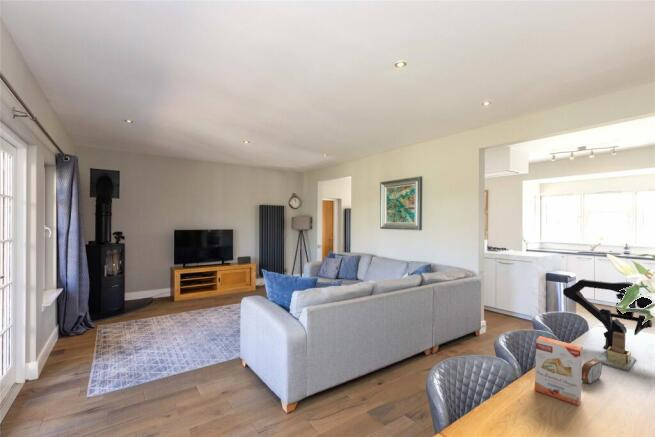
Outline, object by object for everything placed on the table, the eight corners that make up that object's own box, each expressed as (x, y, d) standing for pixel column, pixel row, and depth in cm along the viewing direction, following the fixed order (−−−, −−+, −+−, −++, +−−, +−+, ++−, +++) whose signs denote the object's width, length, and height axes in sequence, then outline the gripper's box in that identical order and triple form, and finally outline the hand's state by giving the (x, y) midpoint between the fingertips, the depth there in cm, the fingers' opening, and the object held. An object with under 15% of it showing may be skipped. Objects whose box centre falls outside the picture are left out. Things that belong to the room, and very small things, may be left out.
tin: (594, 374, 138) (594, 355, 138) (603, 378, 135) (603, 358, 135) (579, 383, 130) (579, 363, 130) (588, 387, 128) (588, 366, 128)
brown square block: (613, 356, 155) (614, 331, 155) (624, 359, 152) (625, 334, 152) (612, 358, 152) (612, 333, 152) (623, 361, 149) (623, 335, 149)
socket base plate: (606, 351, 162) (606, 342, 162) (635, 359, 154) (636, 349, 154) (596, 362, 150) (597, 352, 150) (628, 371, 141) (628, 360, 141)
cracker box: (534, 391, 124) (535, 339, 124) (537, 385, 128) (539, 335, 128) (579, 407, 114) (580, 350, 114) (581, 400, 118) (582, 345, 118)
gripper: (600, 293, 165) (594, 318, 158) (650, 300, 150) (645, 328, 143) (604, 305, 169) (599, 330, 163) (654, 313, 154) (649, 341, 148)
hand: (622, 332), depth 154 cm, fingers open, 9 cm apart
